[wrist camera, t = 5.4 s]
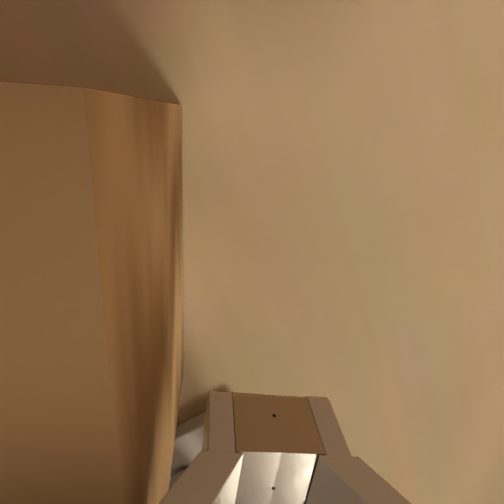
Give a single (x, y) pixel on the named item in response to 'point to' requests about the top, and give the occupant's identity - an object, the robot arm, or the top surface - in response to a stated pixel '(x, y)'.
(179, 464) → the test tube rack
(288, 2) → the top surface
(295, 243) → the top surface
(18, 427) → the oak block
